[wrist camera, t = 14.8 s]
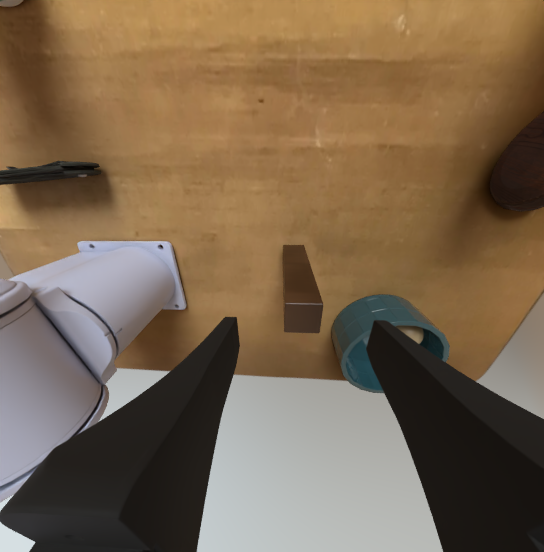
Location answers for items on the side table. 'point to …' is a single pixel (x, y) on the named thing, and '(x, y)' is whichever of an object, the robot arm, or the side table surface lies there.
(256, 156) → the side table surface
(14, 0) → the supplement bottle
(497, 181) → the compass
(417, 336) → the bead
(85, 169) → the folding knife
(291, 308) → the stirring stick
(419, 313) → the bowl
